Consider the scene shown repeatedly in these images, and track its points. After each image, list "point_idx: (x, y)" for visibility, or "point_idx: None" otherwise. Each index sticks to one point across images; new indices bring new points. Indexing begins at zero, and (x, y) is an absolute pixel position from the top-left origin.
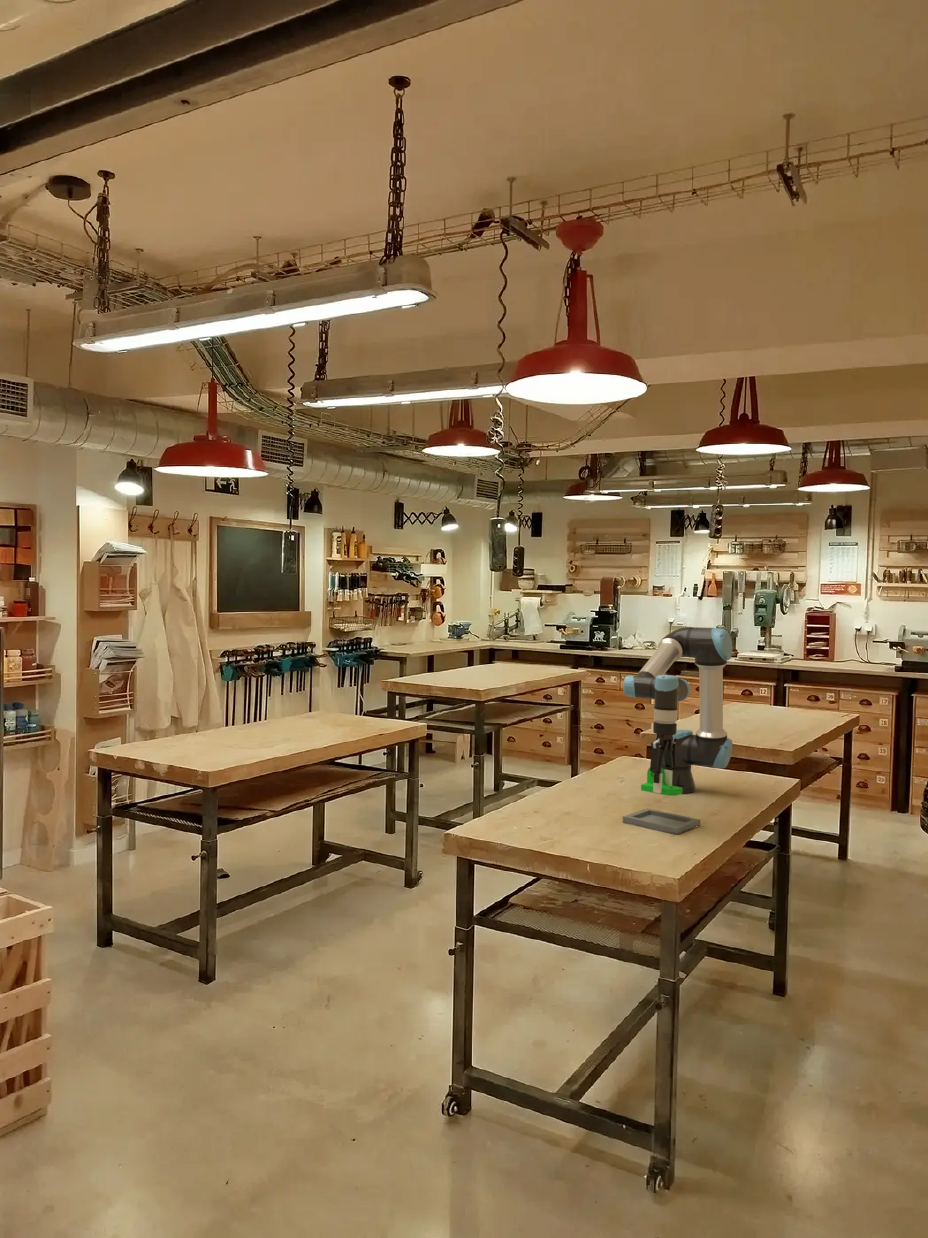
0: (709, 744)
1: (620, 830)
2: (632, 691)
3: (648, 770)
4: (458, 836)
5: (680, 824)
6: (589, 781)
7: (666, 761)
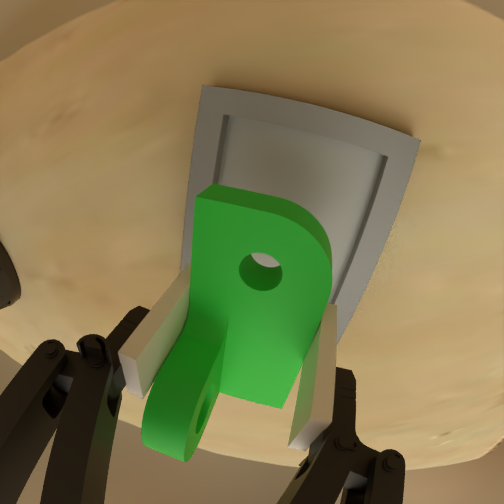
0: None
1: (428, 319)
2: None
3: (197, 445)
4: (491, 451)
5: (343, 138)
6: None
7: (106, 448)
